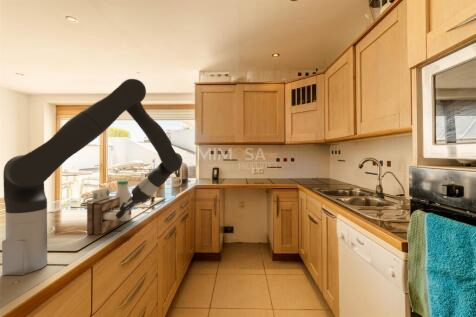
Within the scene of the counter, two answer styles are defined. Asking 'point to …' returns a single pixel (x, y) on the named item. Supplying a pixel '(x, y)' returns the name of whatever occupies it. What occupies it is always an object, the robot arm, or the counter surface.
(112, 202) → the brown wooden box
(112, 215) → the left button
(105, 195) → the card
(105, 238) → the counter surface
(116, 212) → the middle button
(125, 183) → the milk bottle
